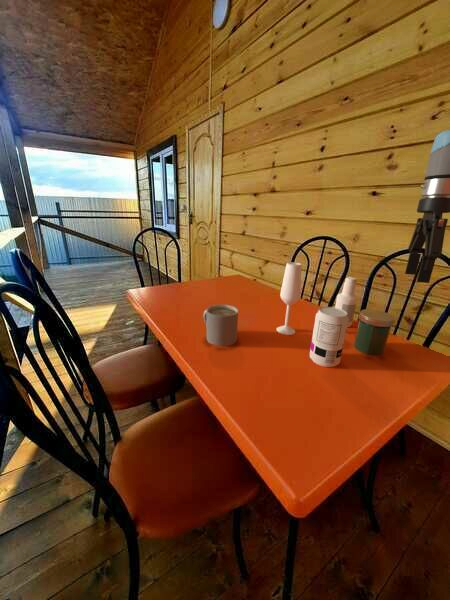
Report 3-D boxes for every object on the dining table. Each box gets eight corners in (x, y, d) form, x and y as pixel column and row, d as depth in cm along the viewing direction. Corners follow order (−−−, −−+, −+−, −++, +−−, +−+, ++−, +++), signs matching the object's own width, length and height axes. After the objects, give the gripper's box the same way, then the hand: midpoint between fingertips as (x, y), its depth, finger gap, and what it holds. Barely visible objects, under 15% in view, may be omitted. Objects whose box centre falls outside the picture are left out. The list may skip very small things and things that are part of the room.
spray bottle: (347, 329, 93) (357, 281, 87) (329, 323, 97) (337, 277, 91) (354, 324, 97) (364, 278, 91) (336, 318, 102) (344, 275, 96)
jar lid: (396, 329, 71) (397, 323, 70) (360, 323, 74) (361, 317, 74) (389, 317, 79) (391, 312, 78) (357, 312, 82) (358, 307, 82)
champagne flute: (274, 326, 93) (281, 261, 85) (292, 326, 94) (300, 261, 86) (279, 334, 87) (287, 265, 79) (298, 334, 87) (308, 265, 79)
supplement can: (303, 355, 75) (310, 307, 70) (326, 350, 78) (334, 305, 73) (321, 370, 68) (331, 319, 63) (346, 365, 70) (357, 315, 65)
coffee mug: (242, 341, 82) (244, 312, 78) (216, 349, 76) (217, 318, 73) (220, 325, 92) (221, 299, 89) (196, 331, 87) (195, 304, 84)
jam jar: (381, 345, 82) (389, 315, 79) (386, 358, 75) (395, 325, 71) (352, 339, 85) (359, 310, 81) (354, 352, 78) (362, 320, 74)
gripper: (407, 199, 80) (391, 269, 87) (437, 194, 59) (413, 286, 66) (436, 199, 77) (417, 271, 84) (478, 194, 57) (448, 289, 64)
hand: (416, 277), depth 75 cm, fingers open, 10 cm apart
